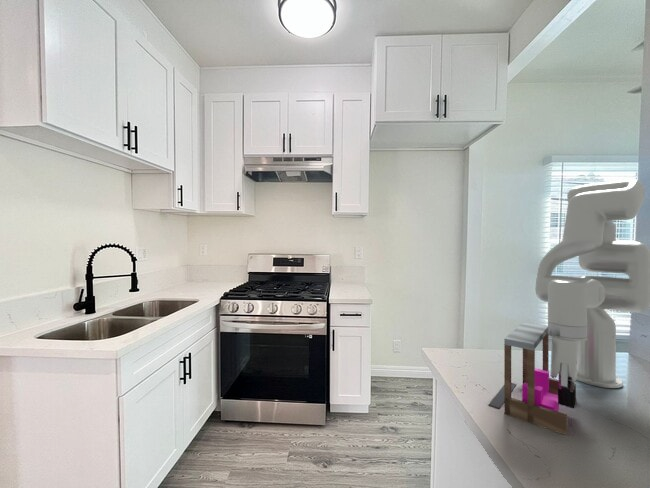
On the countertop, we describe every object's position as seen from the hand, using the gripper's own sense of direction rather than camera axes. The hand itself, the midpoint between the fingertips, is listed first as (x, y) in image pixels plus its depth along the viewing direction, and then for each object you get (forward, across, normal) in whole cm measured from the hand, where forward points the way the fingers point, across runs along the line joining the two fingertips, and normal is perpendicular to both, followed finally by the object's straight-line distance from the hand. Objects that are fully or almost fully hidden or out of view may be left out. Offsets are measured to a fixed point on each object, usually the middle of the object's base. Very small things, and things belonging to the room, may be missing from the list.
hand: (566, 405), depth 75 cm
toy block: (+3, +1, -5) cm, 6 cm away
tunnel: (+2, 0, -5) cm, 5 cm away
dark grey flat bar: (+2, 0, -14) cm, 14 cm away
